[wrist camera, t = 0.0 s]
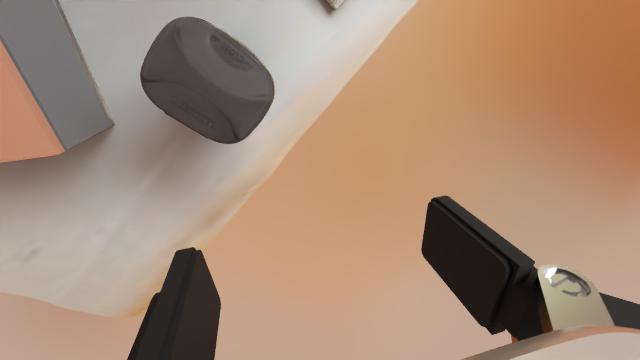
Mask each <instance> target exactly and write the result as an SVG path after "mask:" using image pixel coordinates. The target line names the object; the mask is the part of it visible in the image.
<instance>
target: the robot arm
mask: <svg viewBox="0 0 640 360" xmlns="http://www.w3.org/2000/svg"><path fill="white" fill-rule="evenodd" d="M422 254H423V256H424V258H425V259H426V260H427V261H428V262H429V264H430V265H431V266H432V267H433V269H434V270H435V271H436V272H437V274H438V275H439V276H440V277H441V278H442V279H443V281H444V282H445V283H446V284H447V286H448V287H449V288H450V289H451V291H452V292H453V293H454V294H455V295H456V296H457V298H458V299H459V300H460V301H461V303H462V304H463V305H464V306H465V307H466V309H467V310H468V311H469V312H470V314H471V315H472V316H473V317H474V318H475V320H476V321H477V322H478V323H479V324H480V325H481V326H483V327H486V328H487V330H488V331H489V332H490V333H491V334H492V335H493V334H497V333H500V332H503V331H505V329H507V331H508V332H509V333H510V334H511V337H512V343H511V344H508V345H505V346H502V347H498V348H496V349H492V350H489V351H486V352H483V353H480V354H477V355H474V356H471V357H467V358H465V359H462V360H640V304H636V303H633V302H630V301H626V300H623V299H619V298H616V297H613V296H609V295H606V294H602V293H599V292H598V290H597V289H596V287H595V286H594V284H593V283H592V282H591V281H590V280H588V279H587V278H586V277H585V276H583V275H581V274H580V273H578V272H576V271H574V270H572V269H570V268H566V267H564V266H560V265H554V264H548V265H544V266H540V268H539V269H536V268H535V267H534V266H533V265H534V263H535V261H533V260H532V259H531V258H529V257H528V256H527V255H526V254H524V253H523V252H522V251H520V250H519V249H518V248H516V247H515V246H513V245H512V244H511V243H510V242H508V241H507V240H506V239H504V238H503V237H501V236H500V235H499V234H498V233H496V232H495V231H494V230H492V229H491V228H490V227H488V226H487V225H486V224H484V223H483V222H482V221H480V220H479V219H478V218H476V217H475V216H474V215H472V214H471V213H470V212H468V211H467V210H466V209H464V208H463V207H462V206H460V205H459V204H458V203H456V202H455V201H454V200H452V199H451V198H450V197H448V196H441V197H436V198H433V199H432V200H431V202H429V204H428V208H427V215H426V221H425V229H424V235H423V242H422ZM220 309H221V303H220V298H219V295H218V292H217V289H216V287H215V285H214V282H213V279H212V277H211V274H210V271H209V269H208V266H207V264H206V261H205V259H204V256H203V254H202V251H201V250H197V251H196V249H195V248H194V247H192V248H187V249H182V250H178V251H176V253H175V255H174V258H173V260H172V263H171V265H170V268H169V271H168V273H167V276H166V279H165V281H164V284H163V286H162V289H161V292H160V293H156V294H155V295H154V296H153V298H152V300H151V302H150V304H149V307H148V309H147V312H146V314H145V317H144V319H143V322H142V324H141V327H140V329H139V332H138V334H137V337H136V339H135V342H134V344H133V347H132V349H131V351H130V354H129V356H128V359H127V360H214V357H215V348H216V340H217V332H218V324H219V317H220Z"/></svg>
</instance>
